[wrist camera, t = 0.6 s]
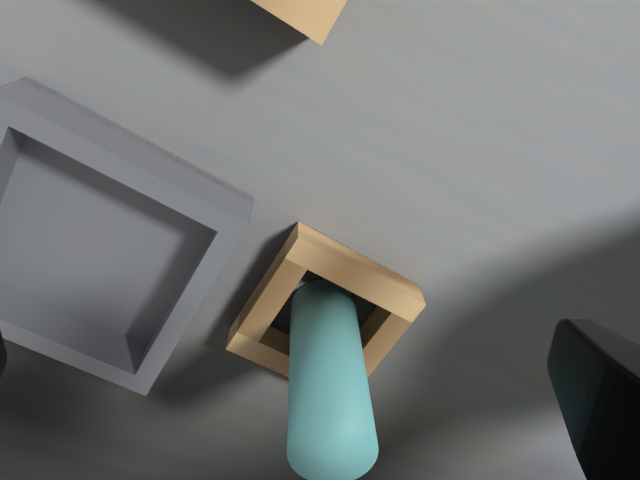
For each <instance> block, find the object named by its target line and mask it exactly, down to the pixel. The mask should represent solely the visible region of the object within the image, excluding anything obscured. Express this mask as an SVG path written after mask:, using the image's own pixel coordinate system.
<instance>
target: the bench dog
mask: <svg viewBox="0 0 640 480" xmlns="http://www.w3.org/2000/svg"><path fill="white" fill-rule="evenodd" d="M251 1H253V2H254V3H256V4H257V5H259V6H260V7H262V8H264V9H265V10H267V11H268V12H270V13H271V14H273V15H275V16H276V17H278V18H279V19H281V20H282V21H284V22H286V23H287V24H289V25H290V26H292V27H293V28H295V29H297V30H298V31H300V32H301V33H303V34H304V35H306V36H308V37H309V38H311V39H312V40H314V41H315V42H317V43H319V44H320V45H322V43H323V42H324V40H325V38H326V36H327V35H328V33H329V31H330V29H331V28H332V26H333V24H334V22H335V21H336V19H337V17H338V16H339V14H340V12H341V10H342V9H343V7H344V5H345V3H346V2H347V0H251Z"/></svg>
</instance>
